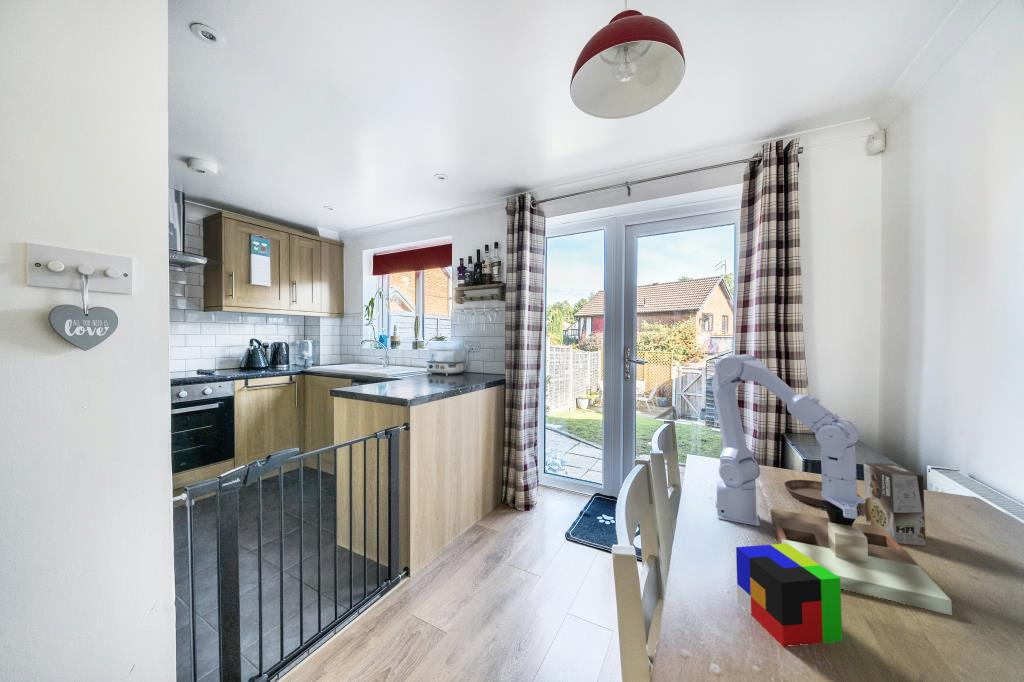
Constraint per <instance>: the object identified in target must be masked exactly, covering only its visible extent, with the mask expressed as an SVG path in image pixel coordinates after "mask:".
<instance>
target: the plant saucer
mask: <svg viewBox="0 0 1024 682" xmlns="http://www.w3.org/2000/svg"><path fill="white" fill-rule="evenodd" d="M783 485H784V487H785V489H786V490H787V492H788V493H789V494H790V495H791V496H792V497H794V498H795V499H797V500H799V501H801V502H803V503H806V504H809V505H811V506H815V505H816V506H817V507H820V508H825V507H824V506H823V504H822V502H821V501H822V500H826V499H824V498H823V497H822V496H821V492H822V481H818V480H811V479H790V480H787V481H785V482H783ZM857 497H861V498H863V497H862V496H861V495H860V494H859V493H858V492H857Z"/></svg>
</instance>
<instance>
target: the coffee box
mask: <svg viewBox="0 0 1024 682" xmlns="http://www.w3.org/2000/svg"><path fill="white" fill-rule="evenodd" d="M863 475H864V477H863V478H864V480H863V481H864V497H865V498H864V500H865V503H864V504H865V520H866V525H873V526H879V527H883V528H884V529H885V530H886V532H887V533H888V534H889V535H890V536H891V537H892V538H893V539H894V540H895V541H896V542H897V543H898V544H903V545H914V546H926V545H927V543H926V540H927V539H926V520H925V519H926V518H925V517H926V516H925V513H926V512H925V489H924V485H925V484H924V475H923V474H920V473H919V472H916V471H912V470H910V469H907V468H904V467H902V466H899V465H896V464H893V463H891V462H890V463H888V462H887V463H886V462H873V463H872V462H863Z"/></svg>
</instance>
